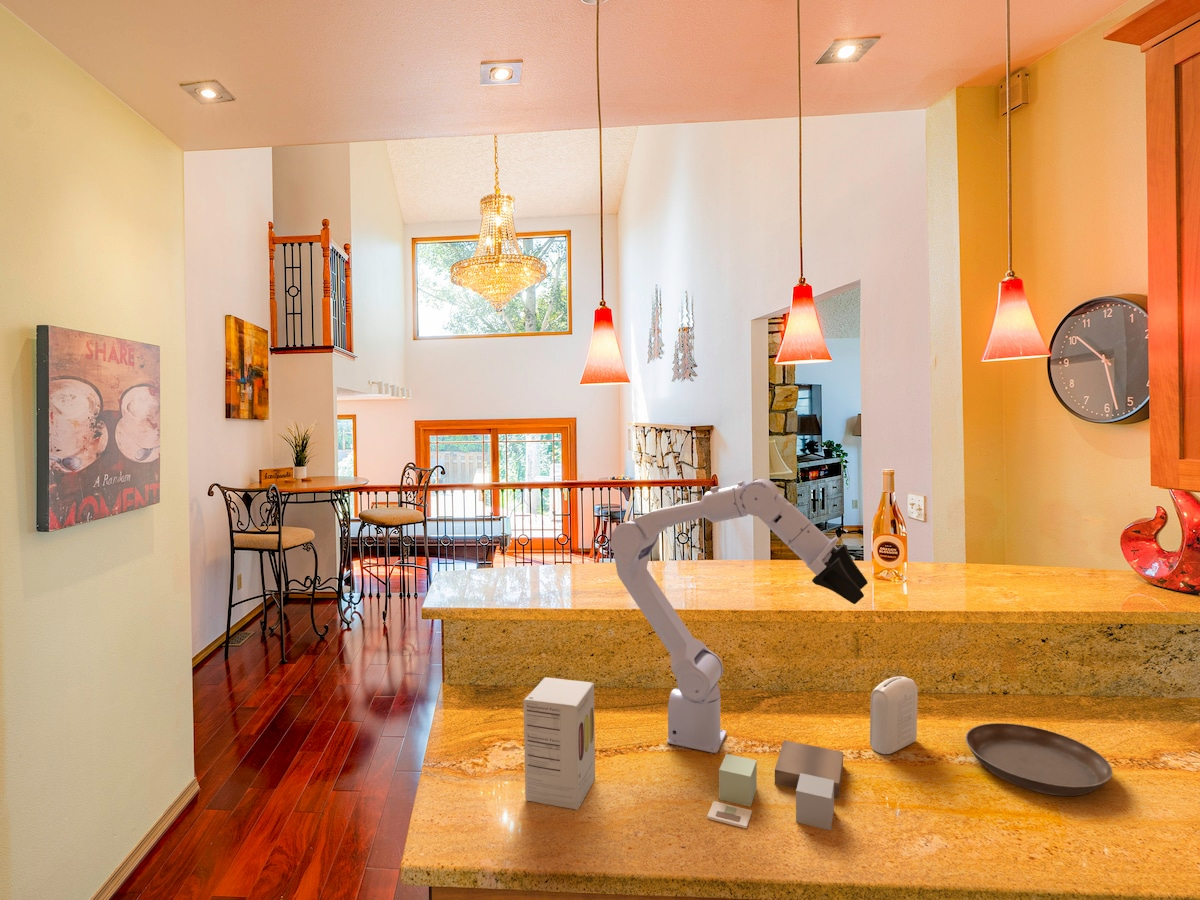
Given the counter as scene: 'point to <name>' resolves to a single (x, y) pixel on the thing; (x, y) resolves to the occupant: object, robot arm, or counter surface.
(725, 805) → the card
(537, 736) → the supplement box
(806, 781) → the grey cube
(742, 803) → the sage cube
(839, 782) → the walnut slab
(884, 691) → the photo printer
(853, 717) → the counter surface
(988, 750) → the plant saucer
